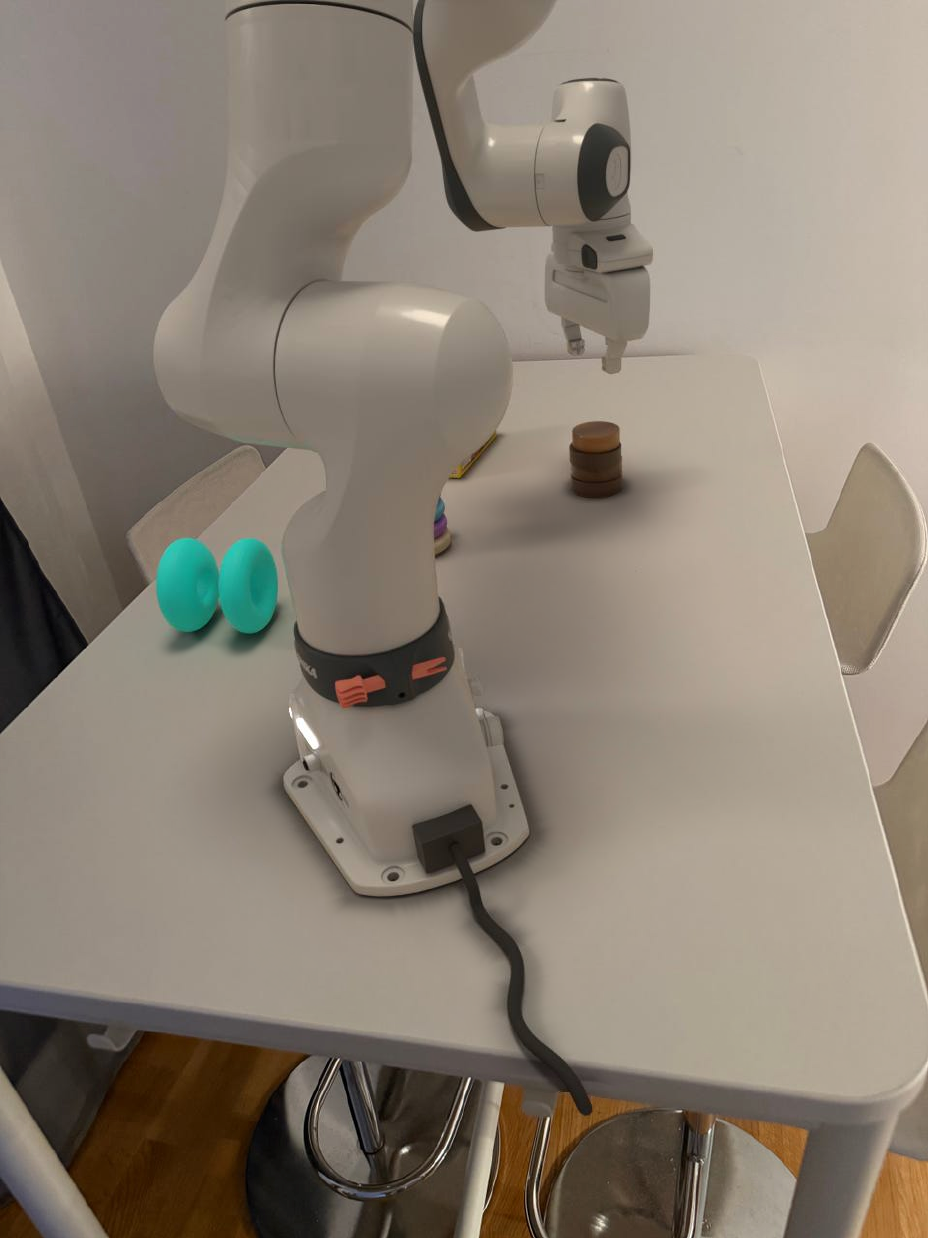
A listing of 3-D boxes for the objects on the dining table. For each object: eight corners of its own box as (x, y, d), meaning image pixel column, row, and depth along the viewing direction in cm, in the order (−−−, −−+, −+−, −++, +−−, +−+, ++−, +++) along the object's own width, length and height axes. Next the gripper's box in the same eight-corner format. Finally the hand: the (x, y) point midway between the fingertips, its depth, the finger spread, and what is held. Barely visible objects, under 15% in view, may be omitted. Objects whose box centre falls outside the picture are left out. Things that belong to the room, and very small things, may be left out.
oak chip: (628, 446, 116) (628, 431, 115) (585, 456, 115) (585, 441, 113) (605, 432, 121) (605, 417, 120) (564, 441, 119) (564, 426, 118)
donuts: (255, 652, 94) (234, 567, 89) (167, 649, 96) (140, 566, 91) (288, 601, 102) (270, 521, 97) (206, 600, 104) (184, 521, 99)
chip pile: (633, 490, 119) (633, 447, 116) (584, 503, 117) (583, 459, 114) (607, 472, 125) (607, 430, 121) (560, 483, 123) (559, 441, 120)
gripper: (529, 235, 112) (534, 348, 120) (608, 258, 96) (609, 388, 103) (576, 227, 114) (578, 340, 121) (661, 249, 97) (658, 378, 104)
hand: (593, 362), depth 112 cm, fingers open, 8 cm apart
